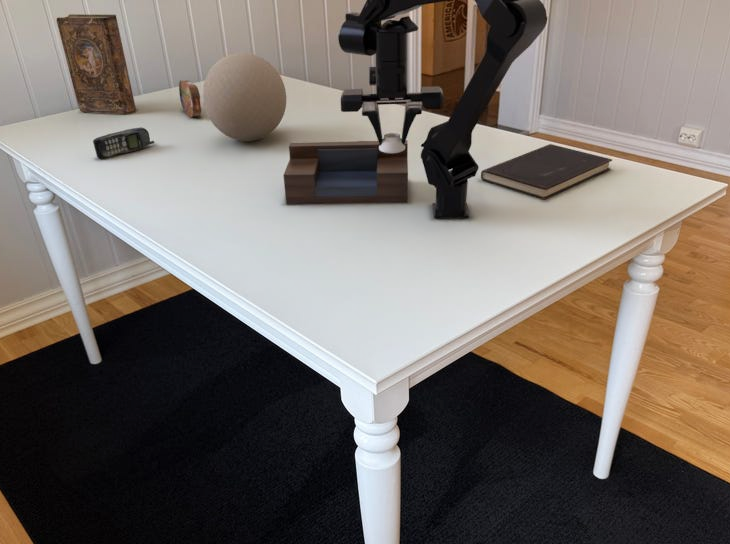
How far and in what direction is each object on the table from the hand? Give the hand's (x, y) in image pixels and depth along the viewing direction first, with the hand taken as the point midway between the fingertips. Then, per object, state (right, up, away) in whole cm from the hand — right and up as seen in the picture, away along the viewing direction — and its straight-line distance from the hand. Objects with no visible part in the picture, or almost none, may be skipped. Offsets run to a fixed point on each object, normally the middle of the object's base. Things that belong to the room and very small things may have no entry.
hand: (392, 145), depth 131 cm
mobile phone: (-63, +10, +36) cm, 73 cm away
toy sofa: (-8, -7, +8) cm, 14 cm away
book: (-79, +31, +68) cm, 109 cm away
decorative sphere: (-33, +14, +40) cm, 54 cm away
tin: (-53, +28, +62) cm, 86 cm away
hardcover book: (+33, -3, +12) cm, 35 cm away
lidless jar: (0, -1, +1) cm, 1 cm away
